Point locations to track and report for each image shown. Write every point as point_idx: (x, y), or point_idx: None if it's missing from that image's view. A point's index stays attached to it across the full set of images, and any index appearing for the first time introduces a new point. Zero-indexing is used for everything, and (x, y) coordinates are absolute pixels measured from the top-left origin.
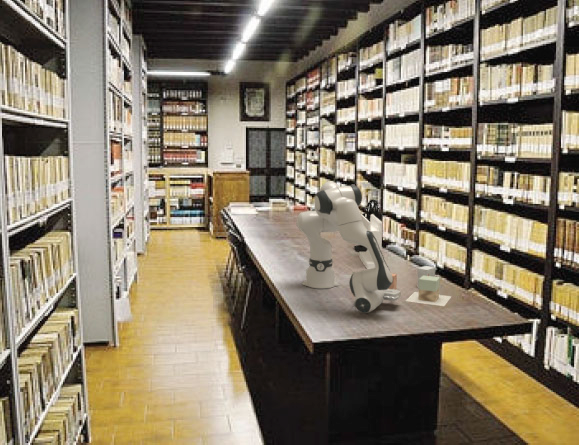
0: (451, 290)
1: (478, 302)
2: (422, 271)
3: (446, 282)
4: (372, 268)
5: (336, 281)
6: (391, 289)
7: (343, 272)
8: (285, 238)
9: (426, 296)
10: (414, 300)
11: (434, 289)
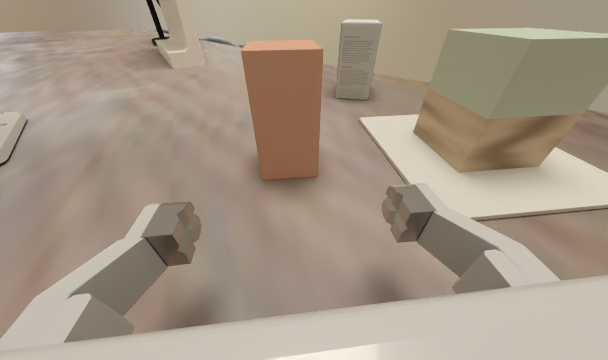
0: (418, 88)
1: (583, 118)
2: (361, 33)
3: None
4: (185, 65)
5: (4, 135)
6: (600, 318)
7: (99, 85)
8: (31, 42)
9: (510, 149)
10: (461, 189)
11: (584, 102)
